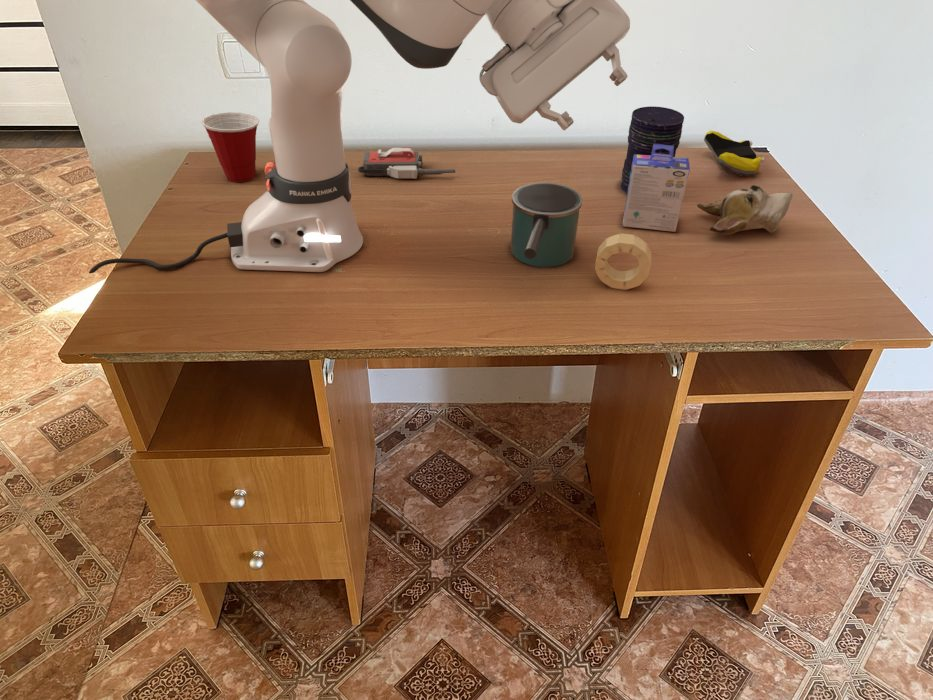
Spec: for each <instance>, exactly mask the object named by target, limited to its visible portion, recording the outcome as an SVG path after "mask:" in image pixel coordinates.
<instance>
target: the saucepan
mask: <svg viewBox="0 0 933 700" xmlns="http://www.w3.org/2000/svg"><path fill="white" fill-rule="evenodd" d="M511 202H512V223H511V224H512V225H511V239H510V240H511V241H510V252H511V254H512V255H513V257H514V258H515V259H516V260H517V261H519V262H521V263H524V264H526V265H529V266H532V267H537V268H538V267H539V268H550V267H551V268H552V267H559V266H561V265H564V264H567V263H568V262H569V261H571V260H572V258H573V257H574V254H575V249H576V240H577V233H578V224H579V217H580V210H581V208H582V206H583V197H582V195H581V193H579V192H578V191H577V190H575V188H572V187H570V186H568V185H564V184H560V183H555V182H532V183H528V184H524V185H521V186H519V187H518V188H516V189H515V190H514V191H513V192H512V195H511Z"/></svg>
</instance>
